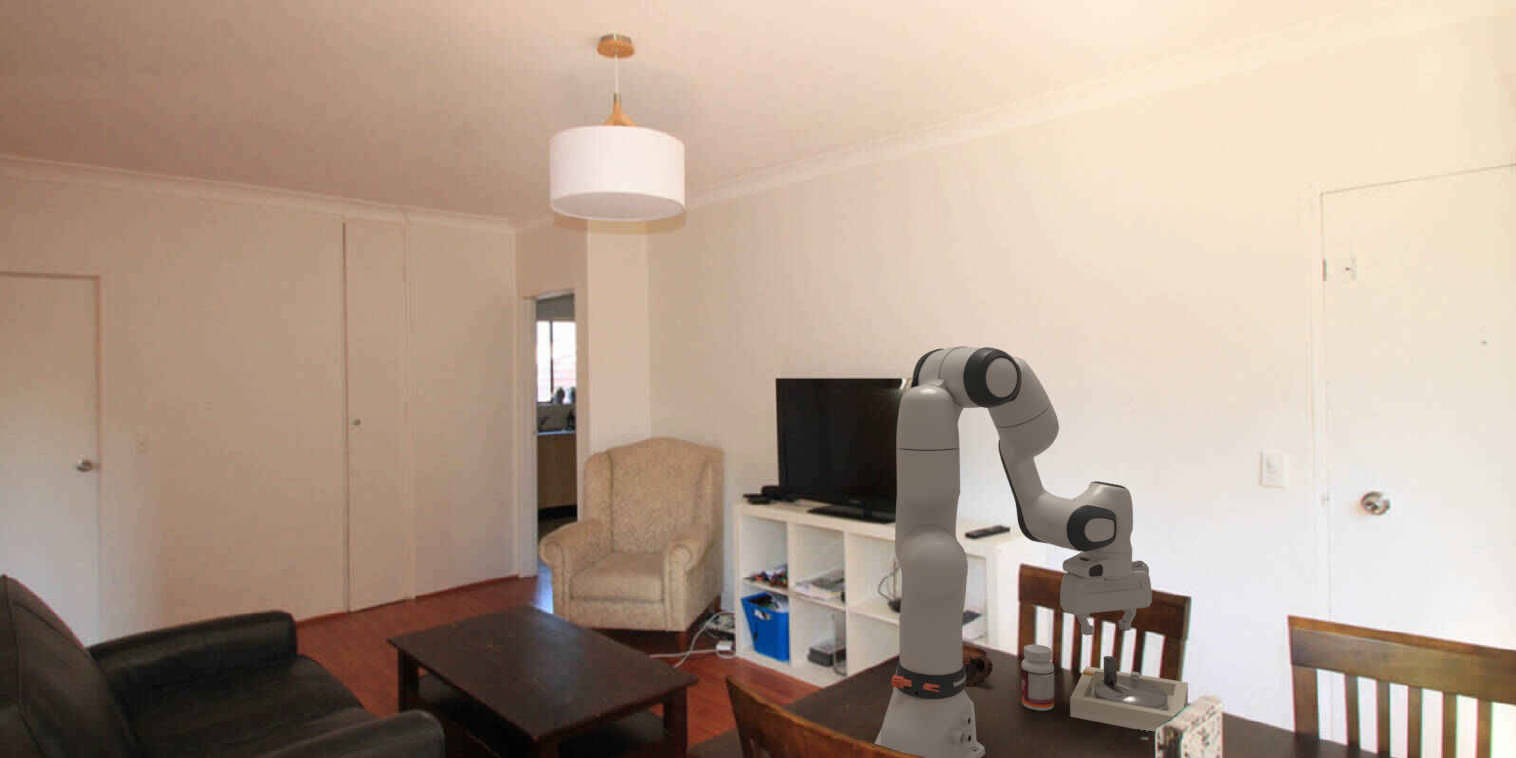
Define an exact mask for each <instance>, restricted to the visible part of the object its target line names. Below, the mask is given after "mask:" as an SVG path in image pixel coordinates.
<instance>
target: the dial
mask: <svg viewBox="0 0 1516 758" xmlns="http://www.w3.org/2000/svg"><path fill="white" fill-rule="evenodd" d="M1117 661H1118V659H1117V657H1115V656H1111V655H1105V656H1103V669H1104V679H1103V680H1100V681H1098V682H1096V683H1095V685H1094V697H1095V698H1096V699H1102V700H1107V701H1113V702H1119V703H1124V704H1130V705H1135V706H1141V707H1147V708H1152V709H1158V710H1163V711H1165V710H1166V709H1167V693H1166V692H1165V691H1164V690H1163V689H1161V688H1159V687H1157V686H1155V685H1153V684H1150V683H1147V682H1143V681H1139V680H1134V679H1125V678H1117V671H1118V670H1117V669H1118V665H1117V664H1118V662H1117Z"/></svg>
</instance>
